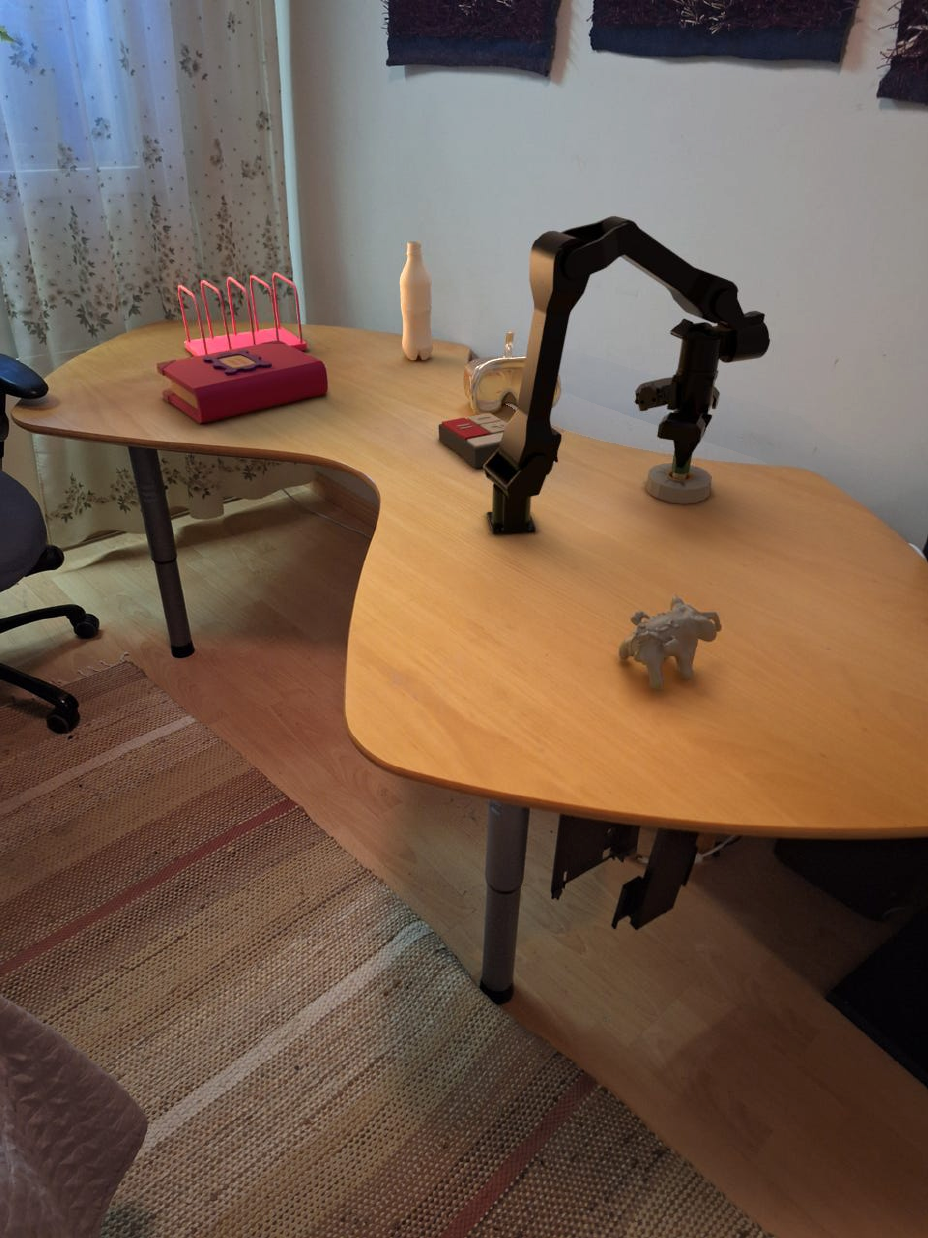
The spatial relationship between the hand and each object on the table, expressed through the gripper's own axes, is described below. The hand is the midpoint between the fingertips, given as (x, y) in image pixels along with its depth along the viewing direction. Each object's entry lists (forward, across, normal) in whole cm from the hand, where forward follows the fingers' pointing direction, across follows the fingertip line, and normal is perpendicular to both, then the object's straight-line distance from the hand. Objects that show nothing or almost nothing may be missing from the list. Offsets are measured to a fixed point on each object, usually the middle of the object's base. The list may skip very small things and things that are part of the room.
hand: (681, 463), depth 128 cm
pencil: (+4, 0, 0) cm, 4 cm away
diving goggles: (+5, -24, -38) cm, 45 cm away
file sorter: (+5, -38, -112) cm, 118 cm away
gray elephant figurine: (+5, +46, +8) cm, 47 cm away
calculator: (+5, -3, -36) cm, 36 cm away
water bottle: (+5, -48, -70) cm, 85 cm away
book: (+5, -10, -92) cm, 92 cm away
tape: (+4, 0, 0) cm, 4 cm away
